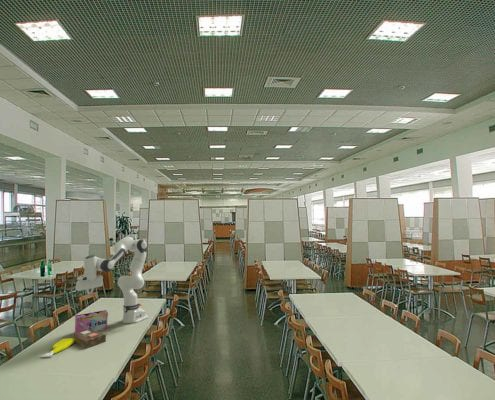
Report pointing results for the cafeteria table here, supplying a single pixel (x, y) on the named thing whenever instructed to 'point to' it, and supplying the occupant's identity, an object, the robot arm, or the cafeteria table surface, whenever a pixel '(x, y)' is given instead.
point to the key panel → (89, 339)
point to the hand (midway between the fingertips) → (89, 294)
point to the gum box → (91, 321)
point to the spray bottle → (60, 346)
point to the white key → (85, 332)
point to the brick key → (92, 335)
